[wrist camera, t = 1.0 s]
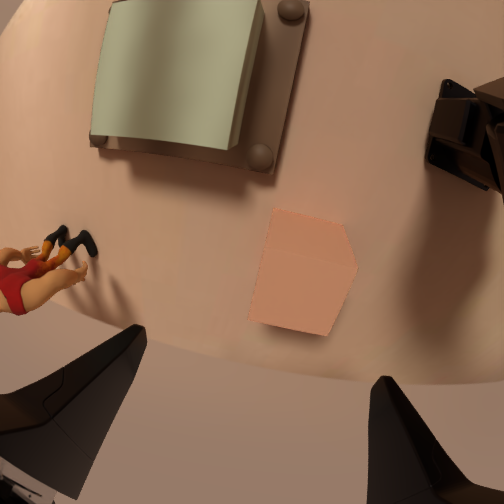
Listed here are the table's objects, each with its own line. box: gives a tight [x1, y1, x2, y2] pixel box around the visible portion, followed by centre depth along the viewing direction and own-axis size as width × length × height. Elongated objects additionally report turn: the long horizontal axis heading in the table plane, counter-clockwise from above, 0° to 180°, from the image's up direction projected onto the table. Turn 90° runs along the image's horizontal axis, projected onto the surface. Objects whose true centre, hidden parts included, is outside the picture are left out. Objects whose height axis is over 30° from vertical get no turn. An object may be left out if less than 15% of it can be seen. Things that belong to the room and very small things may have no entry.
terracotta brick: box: [247, 208, 358, 336], centre depth 18 cm, size 5×5×6 cm
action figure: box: [0, 225, 97, 316], centre depth 17 cm, size 9×4×15 cm, turn 81°
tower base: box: [89, 0, 310, 175], centre depth 14 cm, size 14×12×4 cm
